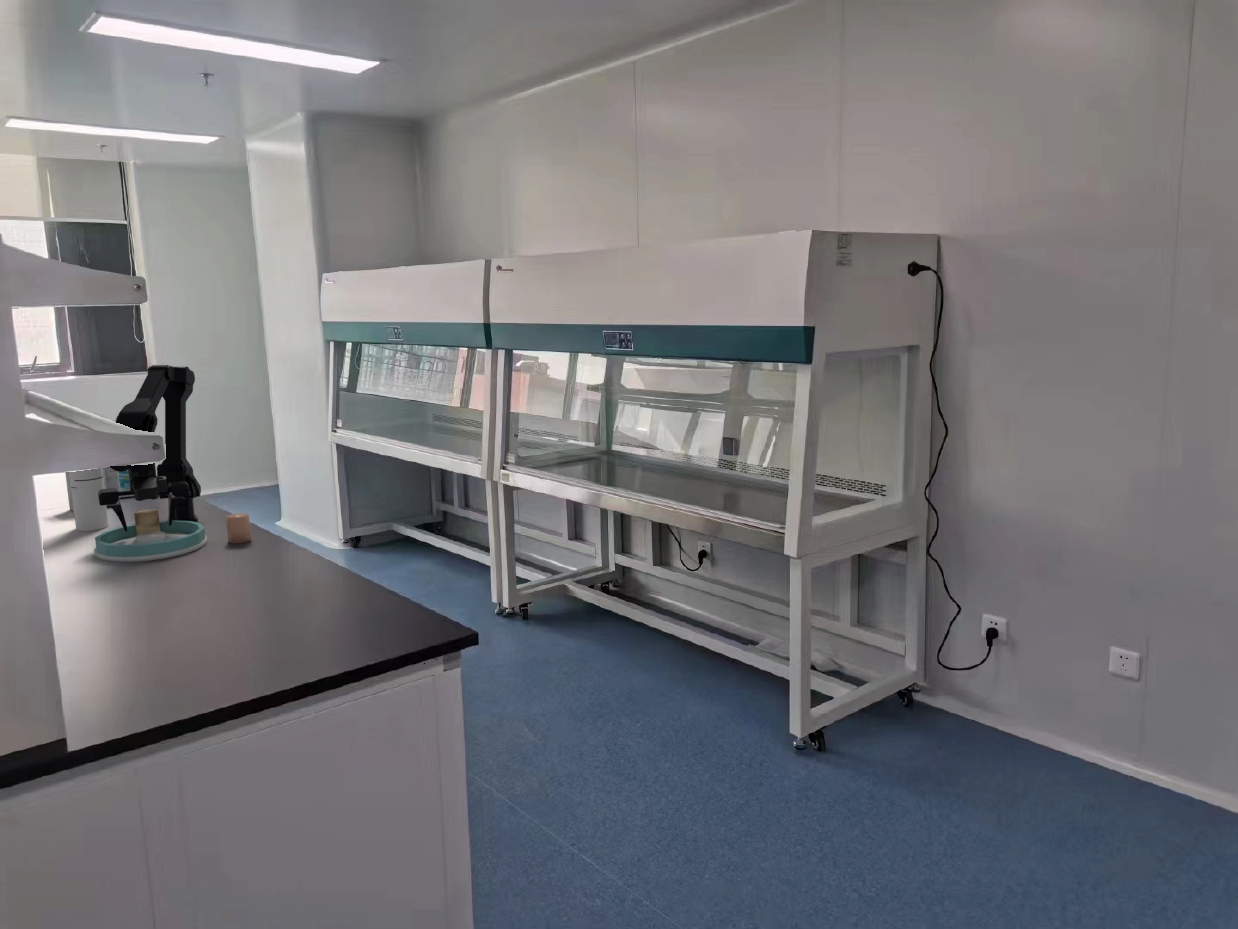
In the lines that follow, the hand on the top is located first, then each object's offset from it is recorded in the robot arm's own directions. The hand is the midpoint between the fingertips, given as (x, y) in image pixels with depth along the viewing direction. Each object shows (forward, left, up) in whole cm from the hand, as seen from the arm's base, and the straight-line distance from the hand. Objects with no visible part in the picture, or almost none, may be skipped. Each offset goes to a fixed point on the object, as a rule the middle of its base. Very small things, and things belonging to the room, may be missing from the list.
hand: (148, 528), depth 212 cm
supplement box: (-45, -11, -3) cm, 47 cm away
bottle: (-52, -6, -3) cm, 53 cm away
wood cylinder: (0, 0, -2) cm, 2 cm away
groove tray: (+7, 0, -3) cm, 7 cm away
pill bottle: (-62, +1, -3) cm, 63 cm away
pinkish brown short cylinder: (+12, +18, -3) cm, 22 cm away
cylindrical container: (-22, -11, -3) cm, 25 cm away
